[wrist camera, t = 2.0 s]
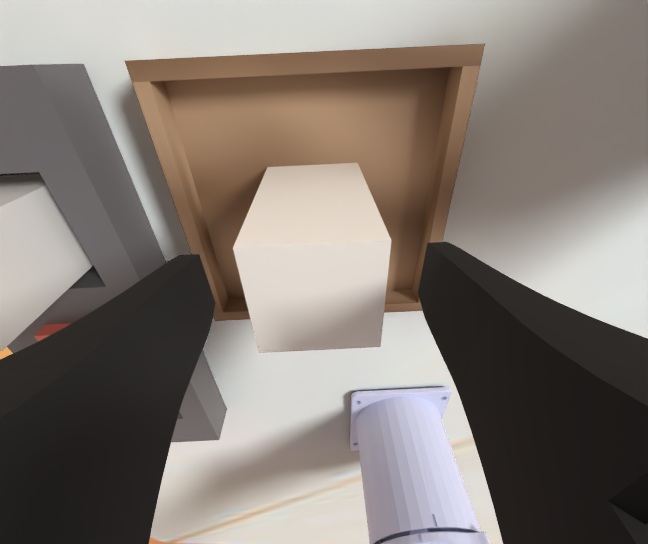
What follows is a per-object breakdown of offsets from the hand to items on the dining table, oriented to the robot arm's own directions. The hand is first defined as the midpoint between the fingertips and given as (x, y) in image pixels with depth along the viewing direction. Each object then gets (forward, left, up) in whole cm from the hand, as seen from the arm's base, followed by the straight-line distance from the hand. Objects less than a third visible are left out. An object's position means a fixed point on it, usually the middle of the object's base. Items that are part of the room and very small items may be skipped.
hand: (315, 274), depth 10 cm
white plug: (0, 0, -6) cm, 6 cm away
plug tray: (0, 0, -6) cm, 6 cm away
